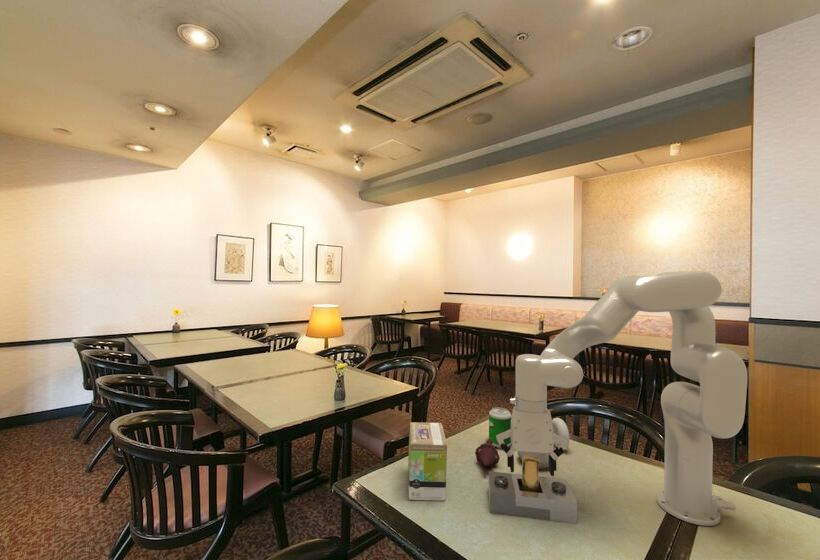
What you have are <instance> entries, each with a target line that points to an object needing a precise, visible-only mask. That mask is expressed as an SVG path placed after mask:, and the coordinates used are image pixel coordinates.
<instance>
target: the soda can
mask: <svg viewBox="0 0 820 560" xmlns="http://www.w3.org/2000/svg"><path fill="white" fill-rule="evenodd" d="M511 413H512V412H510V411H509V410H508V408H505V407H504V408H503V407H493V408H492V409H490V410H489V412H488V439H492V441H493V442H492V445H493V446H494V447H497V448H496V449H498V448H501V446H500V445H499V443H498V441H497V438H496V436H497V435H498V434H500V433H503V432H505V431H507V430H510V429H511V418H512V414H511ZM503 441H504V443H505V444H506V445H507V446H508V445H509V444H510V443H511V439H510V437H508V438H506V439H504V440H503Z"/></svg>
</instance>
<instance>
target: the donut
mask: <svg viewBox="0 0 820 560" xmlns="http://www.w3.org/2000/svg"><path fill="white" fill-rule="evenodd" d="M552 425H553V433H555V434H556V435H558V436H560V437H562V438H564V439H565V440H566V441H567V442H568V445H567V447H566V448H565V449H567V448H568V447H569V445H570V438H571V437H570V432H569V431H570V430H569V428H568V426H567V423H566V422H565V421H564V420H563V419H562V418H559V417H554V418H552ZM556 442H557V441H555V440H554V447H555V448H557V447H558V446H559V444H560V443H558V442H557V443H556Z"/></svg>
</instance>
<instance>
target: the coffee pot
mask: <svg viewBox="0 0 820 560" xmlns="http://www.w3.org/2000/svg"><path fill="white" fill-rule="evenodd" d="M556 443H557V442H556ZM516 452H517V456H518V457H519V458H520V460H521V461H522V456H523V455H525V454H530V455H534V456H536V457H538V459H539V470H544V469H548V468H549V454H543V453H529V452H519V451H516Z"/></svg>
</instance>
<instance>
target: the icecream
mask: <svg viewBox="0 0 820 560" xmlns="http://www.w3.org/2000/svg"><path fill="white" fill-rule="evenodd" d="M492 442H493V441H492V439H489V438H488V439H486V441H485V443H482V444H480V445H478V447H477V448H476V449H475V452H474V454H475V457H476V458H475V459H476V461H477V463H479V464H480V465H481V466H482V467H484V468H493V467H495V466H496V465H497V464H498V463H500V462H499V461H500V455H499V451H498V450H497V448H495V447H494V446H493V445H492Z"/></svg>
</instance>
